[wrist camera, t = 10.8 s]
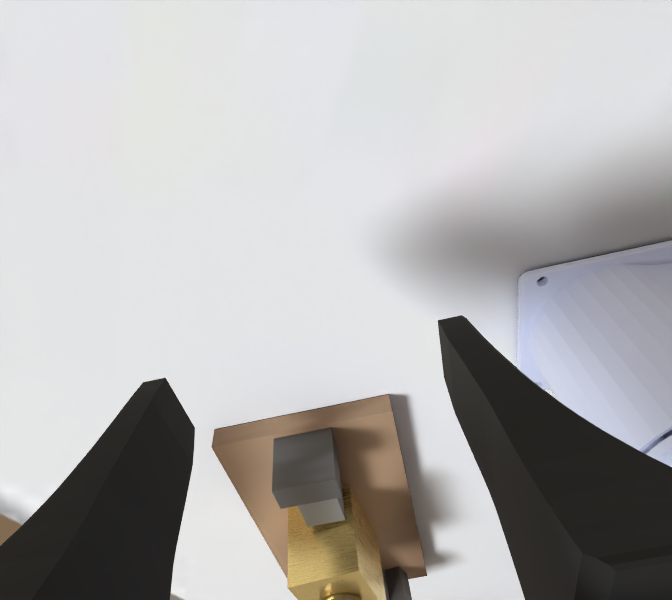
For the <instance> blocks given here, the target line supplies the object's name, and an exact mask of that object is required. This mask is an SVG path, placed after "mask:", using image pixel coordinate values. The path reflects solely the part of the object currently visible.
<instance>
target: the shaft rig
mask: <svg viewBox="0 0 672 600" xmlns="http://www.w3.org/2000/svg"><path fill="white" fill-rule="evenodd" d="M212 449H213V450H214V452H215V454H216V456H217V457H218V459H219V461H220V463H221V464H222V466H223V468H224V470H225V471H226V473H227V475H228V477H229V478H230V480H231V482H232V483H233V485H234V487H235V489H236V490H237V492H238V494H239V496H240V497H241V499H242V501H243V503H244V504H245V506H246V508H247V510H248V511H249V513H250V515H251V516H252V518H253V520H254V522H255V523H256V525H257V527H258V529H259V530H260V532H261V534H262V536H263V537H264V539H265V541H266V542H267V544H268V546H269V548H270V549H271V551H272V553H273V555H274V556H275V558H276V560H277V562H278V563H279V565H280V567H281V569H282V570H283V572H284V574H285V575H286V577H287V579H288V507H294V506H298V508H299V510H300V512H301V514H302V516H303V518H304V521H305V523H306V525H307V527H311V526H316V525H321V524H327V523H332V522H337V521H343V520H345V513H344V502H343V492H342V488H343V487H347V486H350V487H351V489H352V491H353V493H354V494H355V496H356V498H357V500H358V501H359V503H360V505H361V507H362V509H363V510H364V512H365V514H366V516H367V517H368V519H369V521H370V523H371V525H372V526H373V528H374V530H375V532H376V533H377V539H378V546H379V553H380V560H381V566H382V573H383V580H384V587H385V594H386V600H412V598H411V593H410V587H409V582H408V579H412V578H417V577H423V576H427V573H426V568H425V563H424V559H423V554H422V549H421V544H420V540H419V535H418V530H417V526H416V521H415V516H414V511H413V507H412V502H411V497H410V492H409V488H408V483H407V478H406V474H405V469H404V464H403V459H402V455H401V450H400V445H399V441H398V436H397V431H396V426H395V422H394V417H393V412H392V408H391V403H390V399H389V394H388V395H383V396H379V397H374V398H369V399H364V400H359V401H354V402H349V403H344V404H339V405H334V406H329V407H324V408H319V409H314V410H309V411H304V412H299V413H295V414H290V415H285V416H280V417H275V418H270V419H265V420H260V421H255V422H250V423H245V424H240V425H235V426H230V427H225V428H220V429H216V430H214V436H213V442H212Z"/></svg>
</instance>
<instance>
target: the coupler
mask: <svg viewBox="0 0 672 600" xmlns="http://www.w3.org/2000/svg"><path fill="white" fill-rule="evenodd" d="M342 492H343V502H344V513H345V520H343V521H337V522H332V523H327V524H321V525H316V526H311V527H307V525H306V523H305V521H304V518H303V516H302V514H301V512H300V510H299V508H298V506H294V507H288V589H289V590H290V591H291V592H292V593H293V595H294V596H295V597H296V598H297V599H298V600H386V594H385V587H384V580H383V573H382V566H381V560H380V553H379V546H378V539H377V533H376V532H375V530H374V528H373V526H372V525H371V523H370V521H369V519H368V517H367V516H366V514H365V512H364V510H363V509H362V507H361V505H360V503H359V501H358V500H357V498H356V496H355V494H354V493H353V491H352V489H351V487H350V486H347V487H343V488H342Z"/></svg>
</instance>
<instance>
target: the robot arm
mask: <svg viewBox="0 0 672 600" xmlns="http://www.w3.org/2000/svg"><path fill="white" fill-rule="evenodd" d="M541 277H544V279H543V280H541V281H538V279H539V278H541ZM438 326H439V335H440V344H441V353H442V362H443V371H444V378H445V382H446V385H447V388H448V392H449V395H450V398H451V401H452V405H453V408H454V411H455V414H456V416H457V418H458V421H459V423H460V425H461V428H462V430H463V432H464V435H465V437H466V439H467V441H468V444H469V446H470V448H471V451H472V453H473V455H474V457H475V460H476V462H477V464H478V466H479V469H480V471H481V473H482V476H483V478H484V480H485V482H486V485H487V487H488V489H489V492H490V494H491V497H492V500H493V502H494V505H495V507H496V510H497V513H498V517H499V520H500V523H501V526H502V529H503V532H504V535H505V538H506V541H507V544H508V547H509V550H510V553H511V556H512V559H513V562H514V566H515V569H516V572H517V575H518V578H519V581H520V584H521V588H522V591H523V594H524V597H525V600H672V240H671V241H666V242H662V243H657V244H652V245H648V246H643V247H638V248H634V249H629V250H624V251H620V252H615V253H610V254H606V255H601V256H596V257H592V258H587V259H582V260H577V261H573V262H568V263H563V264H559V265H554V266H549V267H545V268H540V269H535V270H531V271H527V272H525V273H523V274H522V275H521V276H520V278H519V280H518V329H517V368H516V367H515V366H514V365H513V364H512V363H511V362H510V361H509V360H507V359H506V358H505V357H504V356H503V355H502V354H501V353H500V352H499V351H498V350H496V349H495V348H494V347H493V346H492V345H491V344H490V343H489V342H488V341H487V340H486V339H485V338H484V337H483V336H482V335H481V334H480V333H479V332H478V331H477V329H476V328H475V327H474V326H473V325H472V324H471V323H470V322H469V321H468V320H467V318H465V317H464V316H457V317H452V318H447V319H443V320H438ZM547 389H551V391H552V392H553V394H554V396H555V398H556V399H555V398H554V397H553V396H551V395H550V394H548V393H547V392H546V391H545V390H547ZM194 434H195V427H194V426H193V424H192V422H191V421H190V419H189V417H188V416H187V414H186V412H185V410H184V409H183V407H182V405H181V404H180V402H179V400H178V398H177V397H176V395H175V393H174V392H173V390H172V388H171V387H170V385H169V383H168V381H167V380H166V378H162V379H157V380H153V381H148V382H143V383H142V385H141V386H140V387H139V388H138V389H137V391H136V392H135V393H134V394H133V396H132V397H131V398H130V400H129V401H128V402H127V403H126V405H125V406H124V407H123V409H122V410H121V411H120V413H119V414H118V415H117V417H116V418H115V419H114V420H113V422H112V423H111V424H110V426H109V427H108V428H107V429H106V431H105V432H104V433H103V435H102V436H101V437H100V438H99V440H98V441H97V442H96V444H95V445H94V446H93V447H92V449H91V450H90V451H89V452H88V453H87V455H86V456H85V457H84V458H83V459H82V461H81V462H80V463H79V464H78V465H77V466H76V468H75V469H74V470H73V471H72V472H71V474H70V475H69V476H68V477H67V478H66V480H65V481H64V482H63V483H62V484H61V485H60V486H59V488H58V489H57V490H56V491H55V492H54V493H53V494H52V495H51V496H50V497H49V499H48V500H47V501H46V502H45V503H44V504H43V505H42V506H41V507H40V508H39V509H38V510H37V511H36V512H35V513H34V514H33V515H32V516H31V517H30V518H29V519H28V520H27V521H26V522H25V523H24V524H23V525H22V526H21V527H20V528H19V529H18V530H17V531H16V532H15V533H14V534H13V535H12V536H11V537H10V538H8V539H7V540H6V541H5V542H4V543H3V544H2V545H1V546H0V600H170V592H171V582H172V572H173V563H174V557H175V551H176V545H177V540H178V535H179V531H180V526H181V521H182V516H183V511H184V506H185V501H186V496H187V491H188V486H189V481H190V476H191V470H192V465H193V453H194Z"/></svg>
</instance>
